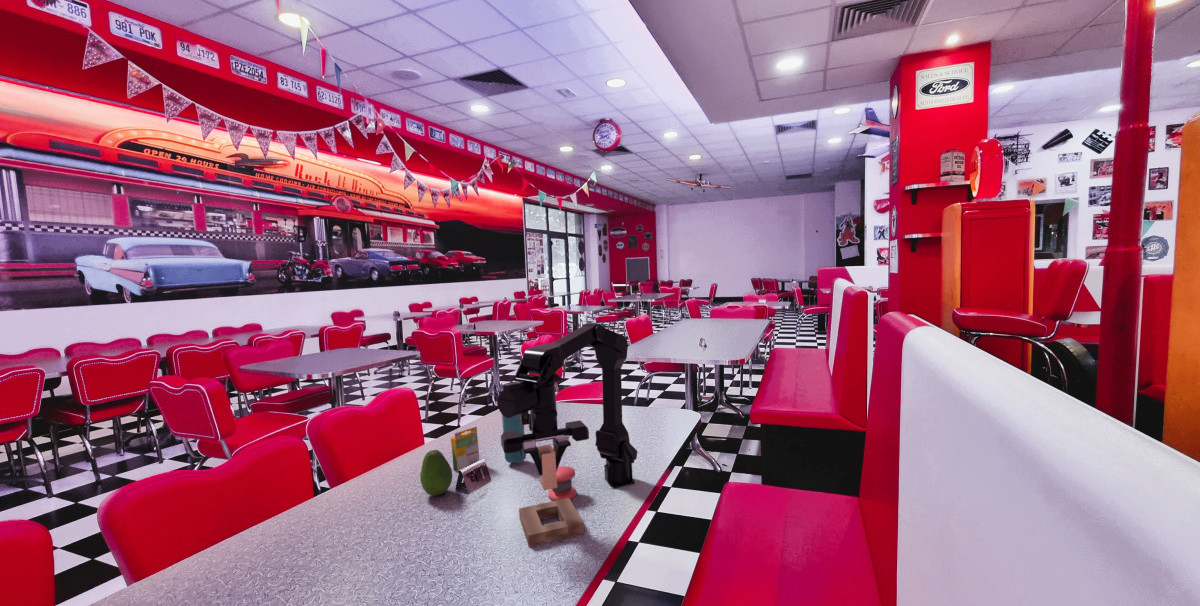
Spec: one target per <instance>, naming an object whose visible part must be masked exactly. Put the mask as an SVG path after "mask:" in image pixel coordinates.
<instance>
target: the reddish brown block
mask: <svg viewBox="0 0 1200 606" xmlns="http://www.w3.org/2000/svg"><path fill="white" fill-rule="evenodd" d="M536 446H537V445H536ZM537 448H538V451H539V457H540V464H541V476H540V475H539V474H538V478H539V480H538V481H539V483H540V485H541V488H542V489H543V491H547V490H551V489H553V488H557V474H556V458H555V451H554V450H553V446H552V445H551V444H545V445H539V446H537Z"/></svg>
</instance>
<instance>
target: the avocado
mask: <svg viewBox="0 0 1200 606" xmlns="http://www.w3.org/2000/svg"><path fill="white" fill-rule="evenodd" d="M419 476H420V477H419V478H420V479H419V480H420V484H421V486H422V489H423V491H424V492H425V493H426V494H427V495H429V496H432V497H436V496H440V495H442V494H444V493H446V491H448V490H449V488H450V486H451V484H452V480H453V470H452V467H451V465H450V463H449V462H448V460H447V459H446V457H445V456H444V454H443V453H442V452H441V451H440V450H438V449H431V450H429V451H428V452H426V453H425V455H424V457H423V459H422V463H421V470H420V474H419Z"/></svg>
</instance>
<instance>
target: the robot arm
mask: <svg viewBox="0 0 1200 606" xmlns="http://www.w3.org/2000/svg"><path fill="white" fill-rule="evenodd" d="M588 346H590V347H591V348H593V349H594V352H595V358H596V360H597V363H598V364H599V366H600V368H601V377H602V379H601V381H602V382H601V383H602V384H601V385H602V417H603V418H602V420H603V421H602V422H603V423H602V425H601V426H600V428H599V429H597V430H595V447H596V448H597V451H598V452H599V455H600V458H601V459H604V460H605V464H604V468H603V469H604V480H605V481H606V482H607V483H608V484H609V486H610V487H611V488H613V489H614V488H619V487H625V486H629V485H634V484H636V480H635V479H634V478H633V464H634V463H635V461H636V460H637V458H638V450H637V449H636V448H635V447H634V446H633V445H632V444H631V443H630V441H631V440H630V435H629V434H630V433H629V431H628V430H627V427H626V426H625V424H624V422H623V397H622V395H623V393H622V392H623V391H622V390H623V389H622V367H623V366H624V363H625V362H626V359H627V358H628V347H629V343H628V339H627V338H625V335H623V334H619V333H618V332H615V331H613V330H611V329H608V328H606V327H605V326H603V325H602V324H600V323H592V322H586V323H584V324H582V325H581V327H579V328H577V329H575V330H573V331H571V332H569V333H568V334H566V335H564V336H563V337H560V338H559V339H557V340H554V341H553V342H550V343H545V344H538V345H536V346H535V345H534V346H531V347H529V348H527V349H526V350H525V351H524V352H523V356H522V359H521V361H520V364H519V366H518V368H517V370H516V372H515V375H514V377H513V382H506V383H503V384H502V391H500V392H499V393H498V396H497V399H496V404H497V407H498V410H499V413H500V414H501V416H502V415H503V416H504V417H506V418H511V417H514V416H516V415H519V414H520V424H521V425H524V426H525V425H526V426H527V425H528V428H529V429H528V430H529V431H530V432H531V433H526V434H524V435H521V434H520V432H519V430H517V431H511V432H504V433H503V432H502V434H501V436H500V443H501V444H500V445H501V448H502V451H503V453H513V452H518V451H520V450H521V449H523V451H524V453H525V454H526V455H527V454H529V456H530V457H531V459H532V461H533V463H534V465H535V468H536V470H537V473H538V476H539V475H540V476H541V464H540V457H539V451H538V448H537V445H536V444H537V443H538V442H543V441H548V440H552V445H553V446H552V448H553V450H554V451H555V458H556V472H557V469H558V467H560V463H561V461H562V457H563V455H564V453H565V452H566V450H567V447H571V446H572V443H571V441H570V437H571V439H573V440H574V441H576V442H580V441H587V440H589V439H590V431H589V427H588V426H587V425H586V423H584V422H583V421H582V420H575V421H569V422H568V421H567V422H565V424H564V425H565V427H562V428H558V411H557V395H556V393H557V392H556V383H558V382H561V381H562V380H563V378H562V376H560V375H559V374H557V372H558V371H559V370H560V369H561V368H562V367H563V365H564V363H565V361H566V359H568V358H569V357H571V356H573V355H574V354H576V353H578V352H579V351H581V350H583V349H584V348H586V347H588ZM528 373H529V374H528ZM529 412H530V413H529ZM536 442H537V443H536Z"/></svg>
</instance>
